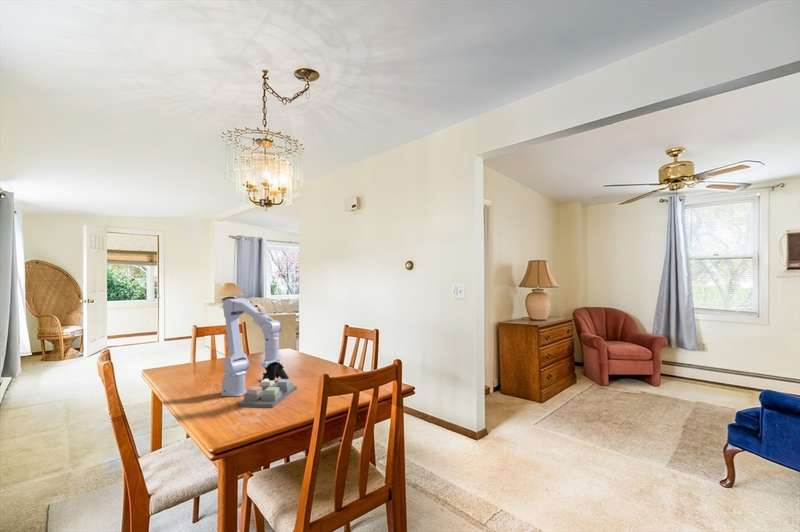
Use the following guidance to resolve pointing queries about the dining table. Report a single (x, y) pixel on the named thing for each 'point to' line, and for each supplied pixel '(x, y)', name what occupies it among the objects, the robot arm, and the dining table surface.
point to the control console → (267, 397)
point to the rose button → (254, 390)
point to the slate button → (284, 382)
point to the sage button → (271, 391)
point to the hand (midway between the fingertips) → (271, 380)
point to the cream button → (267, 382)
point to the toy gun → (278, 373)
